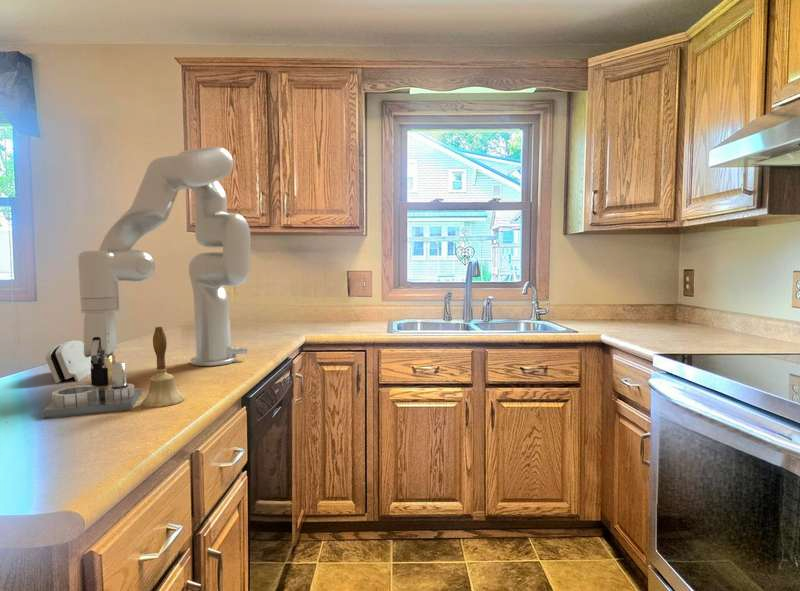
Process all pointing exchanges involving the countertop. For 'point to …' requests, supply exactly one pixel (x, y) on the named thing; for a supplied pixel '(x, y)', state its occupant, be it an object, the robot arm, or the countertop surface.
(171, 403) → the hand bell
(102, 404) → the plate
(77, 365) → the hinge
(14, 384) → the countertop surface
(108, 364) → the brass nipple
